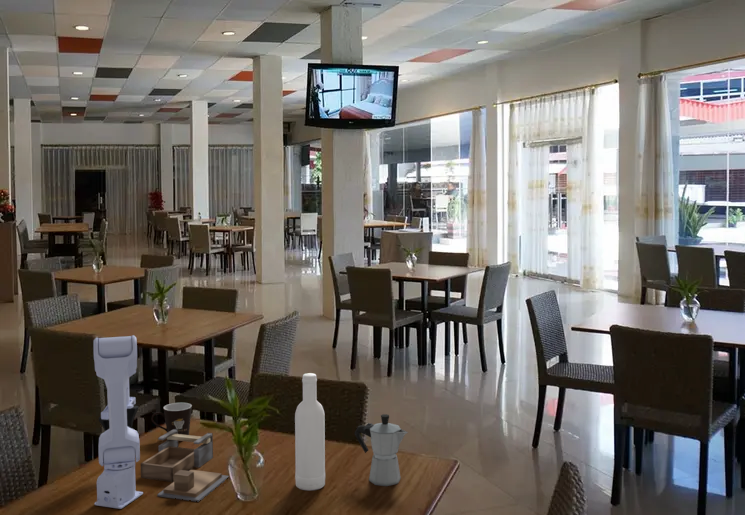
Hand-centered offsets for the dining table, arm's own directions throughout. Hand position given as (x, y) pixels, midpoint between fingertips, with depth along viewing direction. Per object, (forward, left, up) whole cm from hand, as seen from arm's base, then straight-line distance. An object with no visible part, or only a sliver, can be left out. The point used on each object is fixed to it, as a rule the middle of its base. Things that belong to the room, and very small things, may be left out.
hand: (119, 437), depth 200 cm
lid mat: (-2, -24, -10) cm, 26 cm away
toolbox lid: (-2, -24, -10) cm, 26 cm away
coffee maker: (+17, -70, -11) cm, 73 cm away
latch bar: (+16, -12, -5) cm, 20 cm away
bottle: (+8, -53, -11) cm, 55 cm away
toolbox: (+8, -12, -10) cm, 18 cm away
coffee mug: (+30, +2, -11) cm, 32 cm away
